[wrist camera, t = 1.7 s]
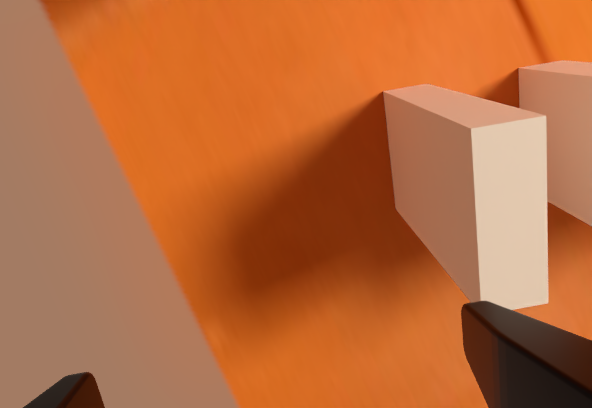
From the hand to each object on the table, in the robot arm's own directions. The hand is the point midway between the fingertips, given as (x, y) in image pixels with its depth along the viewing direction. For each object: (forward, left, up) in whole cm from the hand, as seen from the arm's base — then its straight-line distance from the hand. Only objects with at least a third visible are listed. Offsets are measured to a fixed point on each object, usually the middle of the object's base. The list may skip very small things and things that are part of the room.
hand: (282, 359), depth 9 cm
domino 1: (0, -6, -13) cm, 14 cm away
